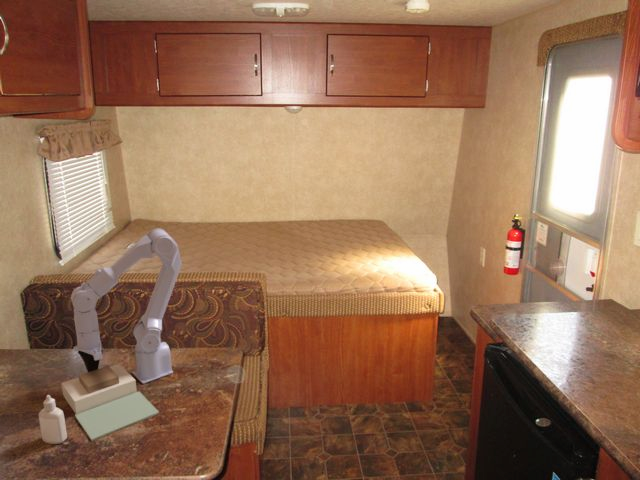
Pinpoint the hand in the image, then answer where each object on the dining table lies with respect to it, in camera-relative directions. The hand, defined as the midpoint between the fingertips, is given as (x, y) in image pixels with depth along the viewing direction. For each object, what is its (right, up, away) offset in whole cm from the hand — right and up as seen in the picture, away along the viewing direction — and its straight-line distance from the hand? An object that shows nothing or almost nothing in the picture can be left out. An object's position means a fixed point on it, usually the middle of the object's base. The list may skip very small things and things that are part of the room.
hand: (93, 373), depth 143 cm
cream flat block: (+3, -5, -2) cm, 6 cm away
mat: (+12, -8, -11) cm, 18 cm away
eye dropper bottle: (0, -11, -21) cm, 23 cm away
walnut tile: (+3, -2, -4) cm, 5 cm away
